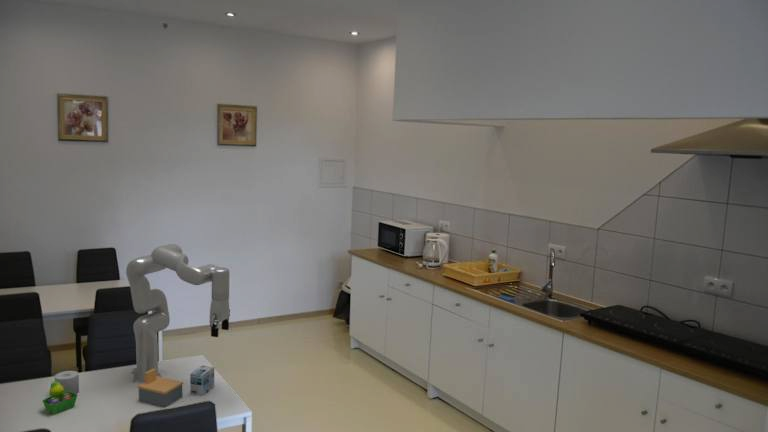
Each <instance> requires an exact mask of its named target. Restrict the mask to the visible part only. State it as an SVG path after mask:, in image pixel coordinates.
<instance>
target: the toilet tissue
mask: <svg viewBox="0 0 768 432" xmlns="http://www.w3.org/2000/svg"><path fill="white" fill-rule="evenodd" d="M79 378H80V377H79V372H78V371H74V370H65V371H61V372H58V373H57V374H55V375H54V382H58V383H60V385H62V386H63V387H64V391H63V392H66V391H70V392H72V393H74V394H77V395H78V394H79V393H80V383H79V382H80V381H79Z"/></svg>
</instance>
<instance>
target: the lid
mask: <svg viewBox="0 0 768 432" xmlns="http://www.w3.org/2000/svg"><path fill="white" fill-rule="evenodd" d="M181 385H182V386H183V385H184V381H181V380H177V379H172V378H167V377H163V376H162V377H159V376H156V369H151V370H149V371H147V372H145V382H144V383H139V384H138V385H137V389H138V390H139V389H144V390H148V391H152V392H157V393H161V394H167V393H168V392H170V391H172V390H174V389H175V388H177V387H179V386H181Z"/></svg>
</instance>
